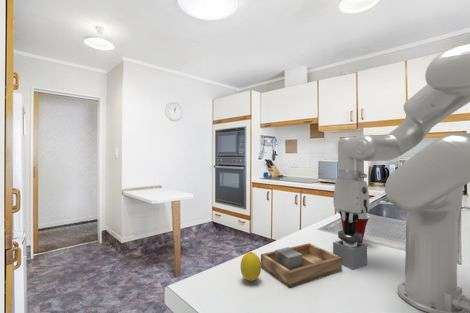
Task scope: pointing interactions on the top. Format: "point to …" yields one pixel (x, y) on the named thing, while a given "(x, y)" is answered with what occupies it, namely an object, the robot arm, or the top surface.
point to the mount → (351, 254)
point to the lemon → (250, 266)
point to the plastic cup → (359, 226)
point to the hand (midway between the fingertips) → (349, 233)
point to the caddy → (300, 264)
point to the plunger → (350, 238)
